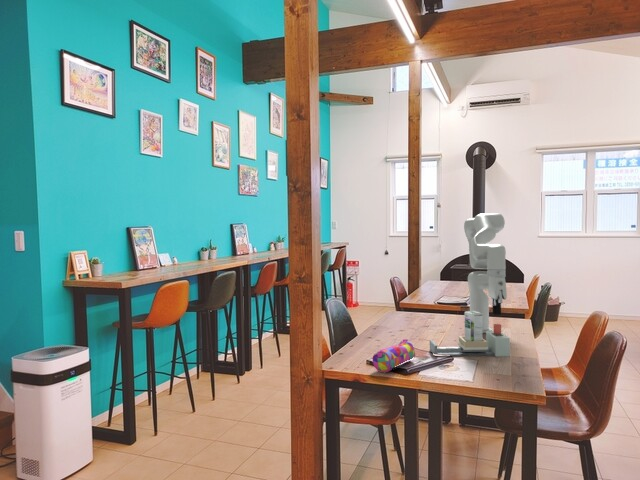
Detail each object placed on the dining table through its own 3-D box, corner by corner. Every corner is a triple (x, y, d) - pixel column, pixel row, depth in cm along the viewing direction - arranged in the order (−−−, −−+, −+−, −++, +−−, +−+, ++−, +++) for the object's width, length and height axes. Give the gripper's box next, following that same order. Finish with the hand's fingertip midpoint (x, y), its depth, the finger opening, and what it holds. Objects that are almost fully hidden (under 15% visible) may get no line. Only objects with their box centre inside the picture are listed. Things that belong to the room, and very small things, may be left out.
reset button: (492, 339, 203) (492, 323, 203) (499, 339, 203) (499, 323, 203) (495, 341, 200) (495, 325, 200) (502, 341, 200) (502, 325, 200)
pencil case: (396, 358, 198) (396, 337, 198) (416, 361, 192) (416, 340, 192) (370, 371, 181) (370, 349, 180) (391, 376, 175) (391, 353, 175)
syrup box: (464, 343, 204) (463, 311, 203) (475, 342, 206) (474, 310, 205) (472, 346, 199) (471, 313, 198) (483, 345, 200) (483, 312, 200)
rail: (429, 350, 208) (429, 339, 207) (486, 349, 207) (486, 338, 207) (434, 356, 198) (434, 345, 197) (494, 355, 197) (494, 344, 197)
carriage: (457, 347, 207) (457, 336, 207) (480, 346, 207) (480, 335, 207) (464, 353, 197) (464, 341, 197) (488, 352, 197) (488, 341, 197)
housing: (486, 348, 208) (486, 331, 208) (499, 348, 208) (499, 331, 208) (495, 356, 196) (495, 338, 196) (509, 356, 196) (509, 337, 196)
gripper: (511, 275, 193) (511, 317, 194) (498, 271, 208) (499, 310, 209) (493, 275, 193) (494, 318, 194) (482, 271, 208) (482, 311, 209)
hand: (496, 314), depth 201 cm, fingers closed
